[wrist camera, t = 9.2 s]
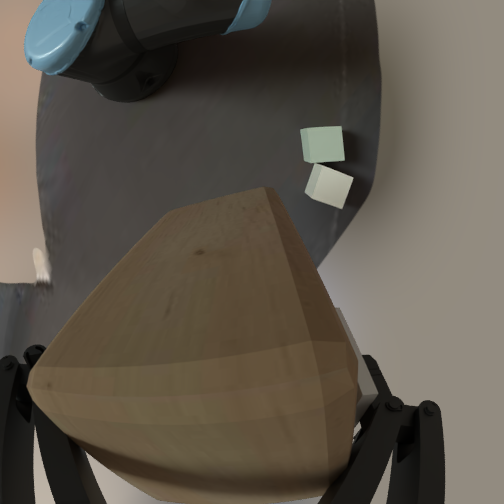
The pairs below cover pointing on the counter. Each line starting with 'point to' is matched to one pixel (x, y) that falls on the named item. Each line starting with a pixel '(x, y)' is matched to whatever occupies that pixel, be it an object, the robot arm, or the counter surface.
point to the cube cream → (328, 185)
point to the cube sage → (322, 144)
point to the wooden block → (209, 362)
